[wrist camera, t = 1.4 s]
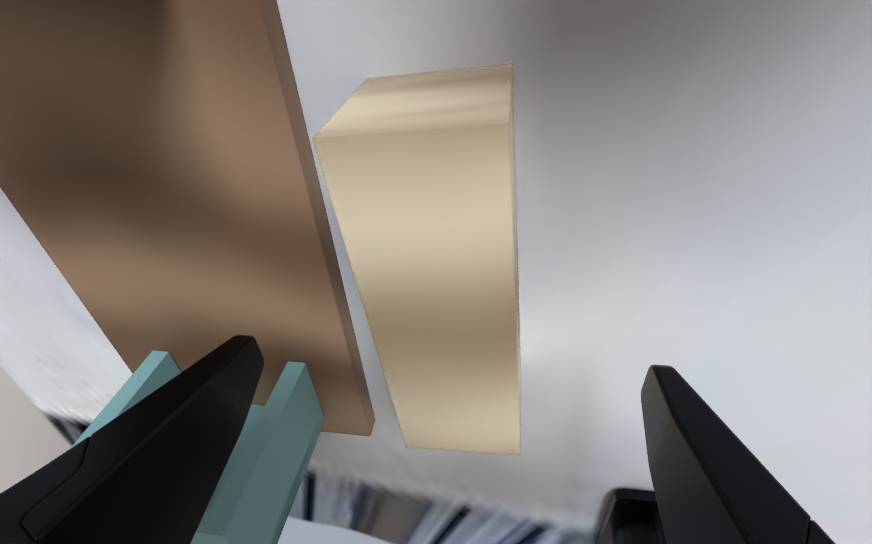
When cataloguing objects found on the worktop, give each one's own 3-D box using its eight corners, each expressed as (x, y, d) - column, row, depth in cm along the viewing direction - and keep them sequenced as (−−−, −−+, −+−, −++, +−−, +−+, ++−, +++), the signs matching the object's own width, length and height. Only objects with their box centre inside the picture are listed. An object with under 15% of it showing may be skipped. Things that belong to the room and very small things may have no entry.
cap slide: (325, 419, 19) (256, 596, 14) (188, 406, 20) (79, 566, 15) (305, 363, 17) (216, 547, 12) (152, 350, 18) (12, 517, 13)
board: (374, 420, 20) (370, 436, 20) (172, 400, 22) (162, 414, 21) (191, -360, 7) (160, -386, 7) (-279, -276, 9) (-339, -290, 8)
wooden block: (520, 353, 17) (520, 454, 14) (427, 351, 17) (406, 447, 14) (512, 61, 11) (508, 123, 8) (369, 76, 11) (312, 138, 8)
